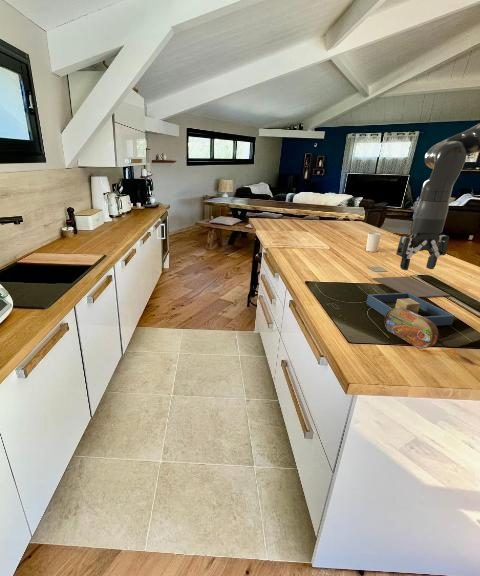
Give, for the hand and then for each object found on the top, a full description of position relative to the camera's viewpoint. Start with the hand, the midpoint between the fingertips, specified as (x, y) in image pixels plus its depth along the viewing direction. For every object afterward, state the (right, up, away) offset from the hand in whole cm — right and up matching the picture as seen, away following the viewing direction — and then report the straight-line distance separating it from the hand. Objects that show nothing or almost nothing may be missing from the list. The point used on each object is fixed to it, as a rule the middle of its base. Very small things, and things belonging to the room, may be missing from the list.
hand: (417, 269), depth 97 cm
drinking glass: (-17, +4, +61) cm, 63 cm away
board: (+17, -7, +28) cm, 34 cm away
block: (+1, -15, +6) cm, 16 cm away
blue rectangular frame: (+1, -15, +6) cm, 16 cm away
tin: (-9, -21, -8) cm, 24 cm away
